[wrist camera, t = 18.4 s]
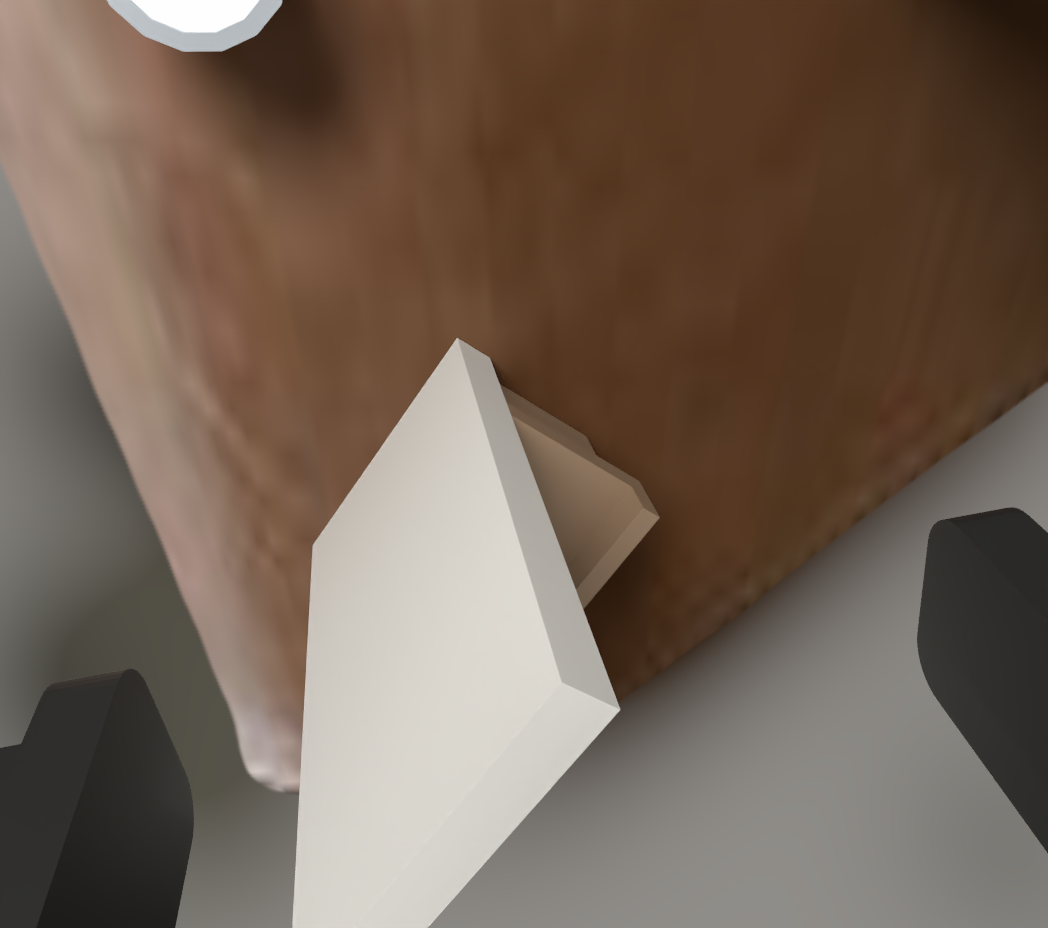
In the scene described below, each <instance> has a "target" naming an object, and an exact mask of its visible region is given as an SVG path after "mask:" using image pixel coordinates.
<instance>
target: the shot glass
mask: <svg viewBox="0 0 1048 928" xmlns="http://www.w3.org/2000/svg"><path fill="white" fill-rule="evenodd" d="M107 1H108V3H109V5H110V6H111V7H112V8H113V9H114V10H115V11H117V12H118V13H119V14H120V15H121V16H122V17H123V18H124V19H125V20H127V21H128V22H129V23H130V24H131V25H132V26H133V27H134V28H136V29H137V30H138V31H139V32H140V33H141V34H142V35H143V36H146V37H148V38H151V39H153V40H156V41H158V42H161V43H163V44H166V45H168V46H171V47H173V48H176V49H178V50H181V51H183V52H194V51H224V50H226V49H228V48H231V47H233V46H235V45H237V44H239V43H241V42H243V41H246V40H248V39H250V38H252V37H254V36H256V35H257V34H258V33H259V32H260V31H261V29H262V28H263V27H264V26H265V24H266V23H267V22H268V21H269V20H270V18H271V17H272V16H273V15H274V14H275V12H276V11H277V10H278V9H279V7H280V6H281V4H282V0H107Z"/></svg>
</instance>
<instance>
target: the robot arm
mask: <svg viewBox="0 0 1048 928" xmlns="http://www.w3.org/2000/svg"><path fill="white" fill-rule="evenodd" d="M917 644H918V652H919V658H920V663H921V666H922V669H923V672H924V675H925V678H926V680H927V682H928V685H929V687H930V688H931V690H932V692H933V694H934V695H935V697H936V699H937V700H938V701H939V702H940V704H941V706H942V707H943V708H944V710H945V711H946V713H947V714H948V715H949V717H950V718H951V719H952V721H953V722H954V723H955V725H956V726H957V728H958V729H959V731H960V732H961V733H962V735H963V736H964V737H965V739H966V740H967V742H968V743H969V744H970V746H971V747H972V749H973V750H974V751H975V753H976V754H977V755H978V757H979V758H980V760H981V761H982V762H983V764H984V765H985V767H986V768H987V769H988V771H989V772H990V774H991V775H992V776H993V777H994V779H995V781H996V782H997V783H998V785H999V786H1000V787H1001V789H1002V790H1003V792H1004V793H1005V794H1006V796H1007V797H1008V799H1009V800H1010V801H1011V803H1012V804H1013V805H1014V807H1015V808H1016V809H1017V811H1018V812H1019V814H1020V815H1021V817H1022V818H1023V819H1024V821H1025V822H1026V824H1027V825H1028V826H1029V828H1030V829H1031V830H1032V832H1033V833H1034V835H1035V836H1036V837H1037V839H1038V840H1039V842H1040V843H1041V844H1042V846H1043V847H1044V848H1045V850H1046V851H1047V853H1048V533H1047V532H1046V531H1045V530H1044V529H1043V528H1042V527H1041V526H1040V525H1038V524H1037V523H1036V522H1035V521H1034V520H1033V519H1032V518H1031V517H1030V516H1029V515H1027V514H1026V513H1024V512H1023V511H1021V510H1020V509H1017V508H1004V509H999V510H993V511H988V512H983V513H977V514H972V515H966V516H961V517H956V518H951V519H945V520H940V521H938V522H937V523H936V524H934V526H933V527H932V529H931V531H930V534H929V539H928V547H927V555H926V564H925V572H924V581H923V590H922V598H921V607H920V616H919V625H918V635H917ZM193 827H194V813H193V801H192V795H191V789H190V784H189V781H188V777H187V775H186V772H185V770H184V768H183V765H182V763H181V761H180V758H179V756H178V754H177V752H176V750H175V747H174V745H173V743H172V740H171V738H170V736H169V734H168V731H167V729H166V727H165V725H164V722H163V720H162V718H161V716H160V713H159V711H158V709H157V707H156V704H155V702H154V700H153V698H152V696H151V693H150V691H149V689H148V686H147V684H146V682H145V680H144V679H143V677H142V676H141V675H140V674H139V673H138V671H136V670H134V669H126V670H121V671H116V672H110V673H104V674H100V675H94V676H88V677H83V678H78V679H72V680H67V681H61V682H56V683H53V684H51V685H50V686H49V687H47V689H46V690H45V691H44V693H43V695H42V697H41V699H40V701H39V703H38V706H37V708H36V710H35V713H34V715H33V717H32V720H31V722H30V724H29V727H28V729H27V731H26V734H25V736H24V739H23V741H22V743H21V744H19V745H14V746H8V747H3V748H0V928H175V926H176V920H177V915H178V910H179V905H180V900H181V895H182V890H183V885H184V879H185V875H186V869H187V864H188V859H189V854H190V849H191V844H192V838H193Z"/></svg>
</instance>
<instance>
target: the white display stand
mask: <svg viewBox="0 0 1048 928" xmlns="http://www.w3.org/2000/svg"><path fill="white" fill-rule="evenodd" d="M659 518H660V517H659V515H658V513H657V512H656V510H655V508H654V506H653V505H652V503H651V501H650V499H649V498H648V496H647V494H646V492H645V491H644V489H643V487H642V485H641V484H640V482H639V481H638V480H636V479H635V478H633V477H631V476H630V475H628V474H626V473H625V472H623V471H621V470H620V469H618V468H616V467H615V466H613V465H611V464H610V463H608V462H606V461H605V460H603V459H601V458H600V457H598V456H596V454H595V452H594V450H593V448H592V446H591V445H590V443H589V441H588V439H587V437H586V436H585V435H583V434H582V433H580V432H578V431H577V430H575V429H573V428H572V427H570V426H568V425H567V424H565V423H563V422H562V421H560V420H558V419H557V418H555V417H553V416H552V415H550V414H549V413H547V412H545V411H544V410H542V409H540V408H539V407H537V406H535V405H534V404H532V403H530V402H529V401H527V400H525V399H524V398H522V397H520V396H519V395H517V394H515V393H514V392H512V391H511V390H509V389H507V388H506V387H504V386H502V385H501V384H499V381H498V378H497V376H496V373H495V370H494V368H493V365H492V362H491V359H490V358H489V357H488V356H486V355H484V354H483V353H481V352H480V351H478V350H476V349H475V348H473V347H471V346H470V345H468V344H466V343H465V342H463V341H462V340H460V339H458V338H457V339H456V340H455V342H454V343H453V345H452V346H451V347H450V349H449V350H448V352H447V353H446V355H445V356H444V358H443V359H442V360H441V362H440V363H439V365H438V366H437V368H436V369H435V370H434V372H433V373H432V375H431V376H430V378H429V379H428V380H427V382H426V383H425V385H424V386H423V388H422V389H421V391H420V392H419V393H418V395H417V396H416V398H415V399H414V401H413V402H412V403H411V405H410V406H409V408H408V409H407V411H406V412H405V414H404V415H403V416H402V418H401V419H400V421H399V422H398V424H397V425H396V426H395V428H394V429H393V431H392V432H391V434H390V435H389V437H388V438H387V439H386V441H385V442H384V444H383V445H382V447H381V448H380V449H379V451H378V452H377V454H376V455H375V457H374V458H373V459H372V461H371V462H370V464H369V465H368V467H367V468H366V470H365V471H364V472H363V474H362V475H361V477H360V478H359V480H358V481H357V482H356V484H355V485H354V487H353V488H352V490H351V491H350V493H349V494H348V495H347V497H346V498H345V500H344V501H343V503H342V504H341V505H340V507H339V508H338V510H337V511H336V513H335V514H334V516H333V517H332V518H331V520H330V521H329V523H328V524H327V526H326V527H325V528H324V530H323V531H322V533H321V534H320V536H319V537H318V538H317V540H316V541H315V543H314V544H313V551H312V569H311V588H310V607H309V626H308V645H307V663H306V682H305V701H304V720H303V738H302V757H301V776H300V795H299V815H298V834H297V851H296V870H295V871H296V872H295V890H294V908H293V927H292V928H428V926H430V925H431V923H432V922H433V921H434V920H435V919H436V918H437V917H438V915H439V914H440V913H441V912H442V911H443V910H444V909H445V907H446V906H447V905H448V904H449V903H450V902H451V901H452V900H453V899H454V897H455V896H456V895H457V894H458V893H459V892H460V891H461V889H462V888H463V887H464V886H465V885H466V884H467V883H468V882H469V880H470V879H471V878H472V877H473V876H474V875H475V873H476V872H477V871H478V870H479V869H480V868H481V867H482V866H483V865H484V863H485V862H486V861H487V860H488V859H489V858H490V857H491V856H492V854H493V853H494V852H495V851H496V850H497V849H498V848H499V846H500V845H501V844H502V843H503V842H504V841H505V840H506V839H507V837H508V836H509V835H510V834H511V833H512V832H513V831H514V830H515V828H516V827H517V826H518V825H519V824H520V823H521V822H522V820H523V819H524V818H525V817H526V816H527V815H528V814H529V812H530V811H531V810H532V809H533V808H534V807H535V806H536V805H537V804H538V802H539V801H540V800H541V799H542V798H543V797H544V796H545V794H546V793H547V792H548V791H549V790H550V789H551V788H552V787H553V785H554V784H555V783H556V782H557V781H558V780H559V779H560V777H561V776H562V775H563V774H564V773H565V772H566V771H567V770H568V768H569V767H570V766H571V765H572V764H573V763H574V762H575V760H576V759H577V758H578V757H579V756H580V755H581V754H582V752H584V750H585V749H586V748H587V747H588V746H589V745H590V744H591V742H592V741H593V740H594V739H595V738H596V737H597V736H598V735H599V733H600V732H601V731H602V730H603V729H604V728H605V727H606V725H607V724H608V723H609V722H610V721H611V720H612V719H613V718H614V716H615V715H616V714H617V713H618V712H619V711H620V707H619V705H618V702H617V699H616V697H615V694H614V691H613V689H612V686H611V683H610V680H609V678H608V675H607V672H606V670H605V667H604V664H603V662H602V659H601V656H600V653H599V651H598V648H597V645H596V643H595V640H594V637H593V635H592V632H591V629H590V626H589V624H588V621H587V618H586V616H585V613H584V610H583V609H584V608H585V607H586V606H587V604H588V603H589V602H590V601H591V600H592V598H593V597H594V596H595V595H596V594H597V592H598V591H599V590H600V589H601V588H602V586H603V585H604V584H605V583H606V582H607V580H608V579H609V578H610V577H611V576H612V574H613V573H614V572H615V571H616V570H617V568H618V567H619V566H620V565H621V564H622V562H623V561H624V560H625V559H626V557H627V556H628V555H629V554H630V553H631V551H632V550H633V549H634V548H635V547H636V545H637V544H638V543H639V542H640V541H641V539H642V538H643V537H644V536H645V535H646V533H647V532H648V531H649V530H650V529H651V527H652V526H653V525H654V524H655V523H656V521H657V520H658V519H659Z"/></svg>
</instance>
